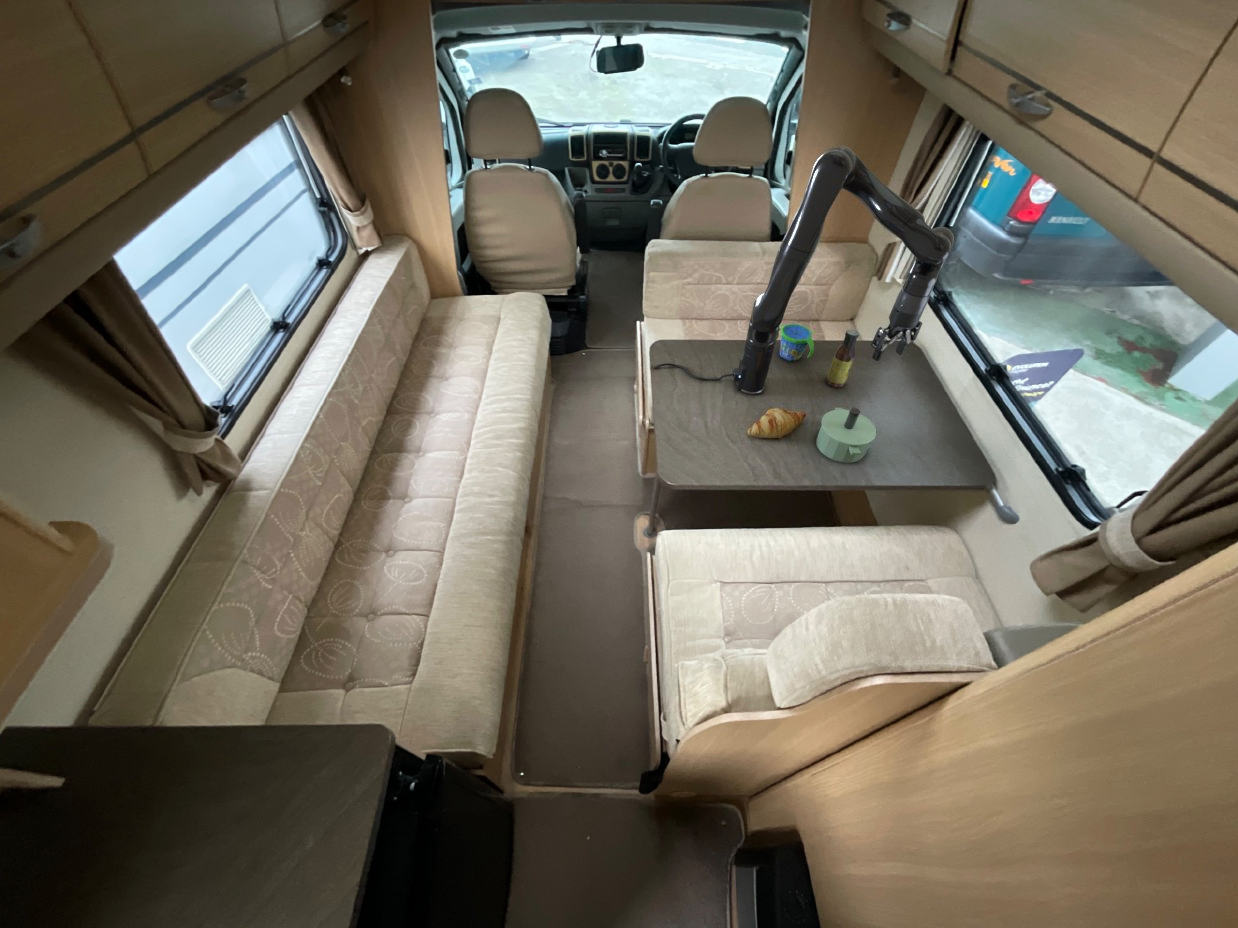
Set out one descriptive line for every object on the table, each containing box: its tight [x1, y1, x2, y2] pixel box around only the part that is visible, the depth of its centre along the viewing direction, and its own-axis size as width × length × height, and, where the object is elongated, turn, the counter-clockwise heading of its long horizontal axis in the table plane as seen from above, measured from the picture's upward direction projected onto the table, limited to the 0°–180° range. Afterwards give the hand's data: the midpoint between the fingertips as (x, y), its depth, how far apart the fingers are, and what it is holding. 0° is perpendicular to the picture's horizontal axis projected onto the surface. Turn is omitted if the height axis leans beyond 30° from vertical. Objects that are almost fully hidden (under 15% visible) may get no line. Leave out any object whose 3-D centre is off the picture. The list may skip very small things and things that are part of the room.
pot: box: [815, 407, 872, 464], centre depth 168 cm, size 15×20×8 cm
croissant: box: [746, 407, 807, 439], centre depth 173 cm, size 21×10×8 cm
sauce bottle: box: [826, 328, 860, 388], centre depth 186 cm, size 7×6×20 cm
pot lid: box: [820, 407, 877, 446], centre depth 163 cm, size 16×16×7 cm
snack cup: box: [777, 323, 815, 362], centre depth 200 cm, size 16×10×10 cm
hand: (887, 356), depth 161 cm, fingers open, 8 cm apart
